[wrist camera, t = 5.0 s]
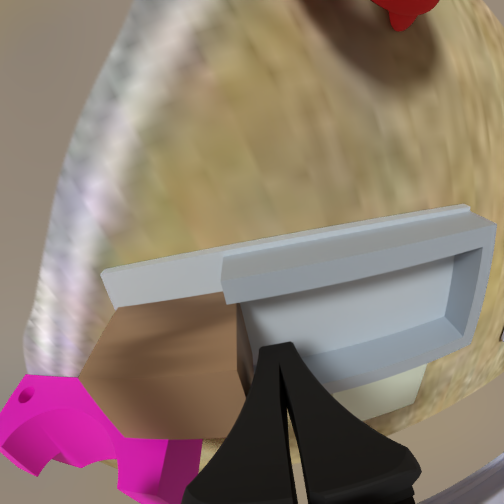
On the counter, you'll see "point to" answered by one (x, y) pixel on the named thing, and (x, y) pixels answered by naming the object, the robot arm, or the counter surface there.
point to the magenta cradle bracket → (91, 440)
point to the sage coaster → (382, 394)
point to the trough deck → (341, 290)
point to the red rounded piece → (405, 11)
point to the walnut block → (172, 368)
